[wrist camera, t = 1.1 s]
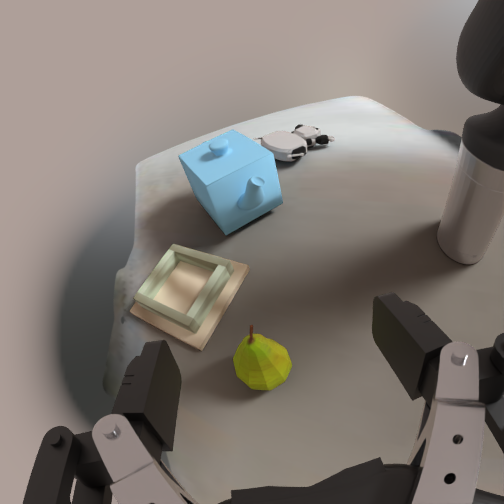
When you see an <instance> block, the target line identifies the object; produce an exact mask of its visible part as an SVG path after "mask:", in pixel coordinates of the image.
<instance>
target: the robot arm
mask: <svg viewBox="0 0 504 504" xmlns="http://www.w3.org/2000/svg"><path fill="white" fill-rule="evenodd" d="M456 60H457V69H458V73H459V76H460V79H461V81H462V82H463V84H464V85H465V87H466V88H467V89H468V90H469V91H470V92H471V93H473V94H475V95H476V96H478V97H480V98H483V99H485V100H488V101H491V102H495V103H498V104H501V105H500V106H499V107H498V108H497V109H495V110H493V111H491V112H488V113H485V114H480V115H474V116H472V117H470V118H468V119H467V120H466V122H465V124H464V128H463V134H462V140H461V145H460V150H459V155H458V160H457V164H456V169H455V173H454V177H453V181H452V185H451V189H450V192H449V196H448V199H447V203H446V206H445V209H444V213H443V216H442V219H441V222H440V225H439V228H438V231H437V239H438V243H439V245H440V247H441V249H442V250H443V251H444V252H445V253H446V255H448V256H449V257H450V258H451V259H453V260H455V261H457V262H459V263H463V264H474V263H477V262H478V261H480V260H481V258H482V257H483V255H484V253H485V251H486V250H487V248H488V246H489V244H490V242H491V240H492V238H493V236H494V234H495V232H496V230H497V228H498V226H499V224H500V222H501V219H502V217H503V215H504V0H479V1H478V3H477V4H476V6H475V8H474V9H473V11H472V13H471V14H470V16H469V18H468V20H467V22H466V23H465V26H464V28H463V30H462V32H461V35H460V38H459V42H458V47H457V56H456ZM372 333H373V338H374V341H375V343H376V345H377V346H378V348H379V349H380V351H381V352H382V354H383V355H384V357H385V358H386V360H387V361H388V363H389V364H390V366H391V368H392V369H393V371H394V372H395V374H396V375H397V377H398V378H399V380H400V382H401V383H402V385H403V386H404V388H405V390H406V391H407V393H408V394H409V396H410V398H411V399H412V400H415V399H417V398H419V397H421V396H423V398H424V399H425V403H424V406H423V410H422V415H421V419H420V424H419V428H418V432H417V436H416V439H415V443H414V446H413V449H412V452H411V454H410V457H409V459H408V462H407V464H384V465H383V463H382V461H381V458H380V457H379V458H376V459H374V460H371V461H368V462H365V463H362V464H359V465H356V466H353V467H350V468H347V469H344V470H342V471H341V472H339V473H337V474H335V475H333V476H331V477H329V478H327V479H325V480H323V481H321V482H319V483H317V484H315V485H312V486H309V487H276V486H266V487H258V488H250V489H241V490H231V496H232V498H231V499H228V500H225V501H223V502H220V503H218V504H504V496H500V495H496V494H493V493H489V492H486V491H483V490H479V489H476V485H477V480H478V474H479V468H480V462H481V455H482V446H483V437H484V424H485V422H486V424H487V425H488V427H489V429H490V430H491V432H492V434H493V436H494V437H495V439H496V441H497V442H498V444H499V446H500V448H501V449H502V451H503V453H504V333H502V334H500V335H499V336H498V337H497V338H496V340H495V343H494V345H493V347H489V348H484V349H479V350H475V348H474V347H472V346H471V345H469V344H467V343H465V342H452V341H451V340H450V339H449V337H448V336H447V335H446V334H445V333H444V332H443V331H442V330H441V329H440V328H439V327H438V326H437V325H436V324H435V323H434V322H433V321H431V319H430V318H429V317H428V316H427V315H425V313H424V312H423V311H422V310H421V309H420V308H419V307H418V306H417V305H415V304H413V303H411V302H409V301H404V302H403V301H402V300H401V299H400V298H399V297H398V296H397V295H396V294H395V293H394V292H390V293H387V294H384V295H380V296H377V297H375V298H374V301H373V322H372ZM124 376H125V377H124V378H123V381H122V386H120V389H119V392H118V395H117V398H116V401H115V404H114V407H113V410H112V413H111V415H107V416H105V417H103V418H102V419H100V420H99V421H98V422H97V423H96V424H95V426H94V428H93V431H90V432H86V433H81V434H76V435H74V434H73V433H72V432H71V431H70V430H69V429H68V428H67V427H64V426H58V427H54V428H52V429H51V430H49V431H48V432H47V433H46V434H45V436H44V438H43V440H42V443H41V446H40V449H39V451H38V454H37V457H36V460H35V463H34V467H33V469H32V473H31V476H30V479H29V483H28V486H27V490H26V494H25V497H24V501H23V504H71V502H70V493H71V488H72V484H73V480H74V478H76V479H77V481H76V486H75V490H74V496H73V501H72V504H111V502H112V494H113V495H114V496H115V498H116V500H117V502H118V504H198V503H197V502H196V501H195V500H194V499H193V498H192V497H191V496H190V495H189V493H188V492H187V491H186V490H185V489H184V488H183V486H182V485H181V484H180V483H179V482H178V480H177V479H176V478H175V477H174V475H173V474H172V473H171V472H170V470H169V469H168V468H167V467H166V465H165V464H164V463H163V461H162V460H161V453H162V451H173V442H174V434H175V426H176V418H177V410H178V403H179V396H180V389H181V374H180V371H179V368H178V366H177V364H176V361H175V359H174V357H173V355H172V353H171V350H170V348H169V346H168V344H167V342H166V341H165V340H161V341H153V342H146V343H145V345H144V347H143V350H142V353H141V356H136V357H135V358H134V359H133V360H132V361H131V363H130V364H129V365H128V367H127V370H126V372H125V375H124Z"/></svg>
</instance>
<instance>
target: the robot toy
mask: <svg viewBox="0 0 504 504" xmlns="http://www.w3.org/2000/svg"><path fill="white" fill-rule="evenodd" d="M257 139H261V146H263V147H264V148H266V149H267V150H269V151H270V152H272V153H273V154H274V158H275V159H278V160H281V161H294V160H296V159H298V158H300V157H302V156H304V155H305V154H306V153H307V147H309V146H314V145H316V144H317V143H318V144H321V145H322V144H328V141H331V142H332V141H334V140H335V138H334V137H333V136H327V135H321V132H320V129H318V128H315V127H313V126H306V125H297V126H296V127H295V131H293V132H291V133H290V132H286V131H276V132H273V133H270V134H268V135H265V136H263V137H261V138H254V140H257Z"/></svg>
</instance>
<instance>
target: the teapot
mask: <svg viewBox="0 0 504 504" xmlns="http://www.w3.org/2000/svg"><path fill="white" fill-rule="evenodd" d="M178 157H179V159H180V162H181V164H182V166H183V169H184V171H185V173H186V176H187V178H188V180H189V183H190V185H191V187H192V189H193V192H194V194H195V196H196V199H197V200H198V201H199V202H200V204H201V205H202V206H203V207H204V209H205V210H206V211H207V213H208V214H209V215H210V216H211V218H212V219H213V220H214V221H215V223H216V224H217V225H218V226H219V228H220V229H221V230H222V231H223V233H224V234H225V235H228V234H230V233H231V232H233V231H235V230H237V229H238V228H240V227H242V226H244V225H245V224H247V223H249V222H251V221H252V220H254V219H256V218H258V217H259V216H261V215H263V214H265V213H266V212H268V211H270V210H272V209H273V208H275V207H277V206H279V205H281V204H282V203H283V201H282V195H281V190H280V185H279V180H278V174H277V169H276V164H275V159H274V154H273V153H272V152H270V151H269V150H267V149H266V148H264V147H263V146H261V145H259V144H258V143H256V142H254V141H253V140H251V139H249V138H248V137H246V136H244V135H242V134H240V133H239V132H237V131H235V130H231V131H228V132H226V133H224V134H222V135H220V136H217V137H215V138H213V139H211V140H209V141H205V142H203V143H202V144H201V145H199V146H197V147H195V148H193V149H191V150H189V151H187V152H185V153H183V154H181V155H179V156H178Z"/></svg>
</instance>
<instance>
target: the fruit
mask: <svg viewBox="0 0 504 504" xmlns="http://www.w3.org/2000/svg"><path fill="white" fill-rule="evenodd" d="M233 362H234V366H235V371H236V375H237V377H238V378H239V379H241V380H242V381H243V382H244V383H245V384H246V385H248V386H249V387H250V388H251V389H255V390H272V389H274V388H276V387H277V386H279V385H280V384H282V383H283V382H285V380H286V378H287V376H288V374H289V372H290V370H291V367H292V363H291V360H290V357H289V355H288V352H287V350H286V348H284V347H283V346H282V345H280V344H279V343H277V342H276V341H274V340H273V339H267V338H265V337H264V336H262V335H261V334H253V325H250V334H249V335H248V336H246V337H244V339H243V340H242V342H241V343H240V344H239V346H238V348H237V350H236V353H235V355H234V357H233Z"/></svg>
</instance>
